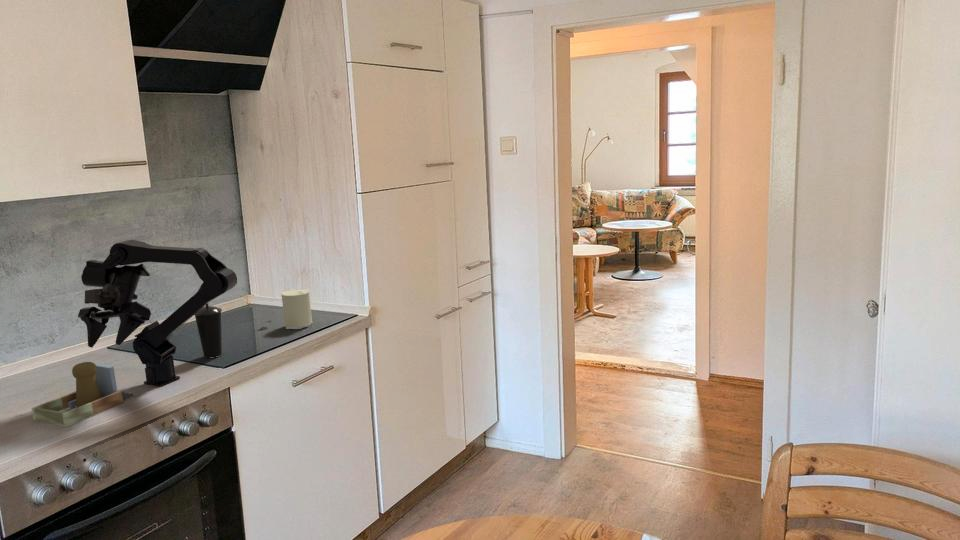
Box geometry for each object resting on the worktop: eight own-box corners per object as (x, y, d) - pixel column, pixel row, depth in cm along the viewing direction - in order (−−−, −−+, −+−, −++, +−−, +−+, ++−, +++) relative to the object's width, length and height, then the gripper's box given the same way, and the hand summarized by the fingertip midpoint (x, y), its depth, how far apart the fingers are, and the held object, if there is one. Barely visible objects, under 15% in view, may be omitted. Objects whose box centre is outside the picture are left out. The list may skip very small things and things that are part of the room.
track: (91, 397, 175) (89, 386, 174) (123, 402, 170) (121, 391, 169) (33, 420, 162) (31, 407, 161) (66, 426, 157) (64, 414, 156)
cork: (109, 401, 171) (102, 358, 169) (96, 411, 165) (89, 366, 163) (84, 402, 171) (77, 360, 169) (71, 412, 165) (63, 368, 163)
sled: (95, 397, 174) (89, 363, 172) (118, 401, 171) (113, 366, 169) (69, 408, 168) (63, 372, 166) (93, 412, 164) (87, 376, 163)
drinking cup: (227, 357, 202) (219, 290, 198) (199, 361, 199) (190, 293, 195) (226, 350, 209) (218, 285, 205) (199, 354, 206) (190, 288, 202)
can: (298, 331, 227) (294, 295, 224) (278, 328, 231) (274, 292, 229) (318, 323, 234) (315, 289, 232) (298, 321, 239) (295, 286, 237)
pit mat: (111, 391, 178) (111, 390, 178) (134, 395, 175) (133, 393, 175) (97, 397, 174) (97, 395, 174) (120, 401, 171) (119, 399, 171)
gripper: (70, 278, 174) (48, 336, 167) (125, 270, 168) (104, 330, 161) (106, 296, 184) (86, 352, 176) (160, 290, 177) (141, 347, 170)
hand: (103, 345), depth 171 cm, fingers open, 9 cm apart
